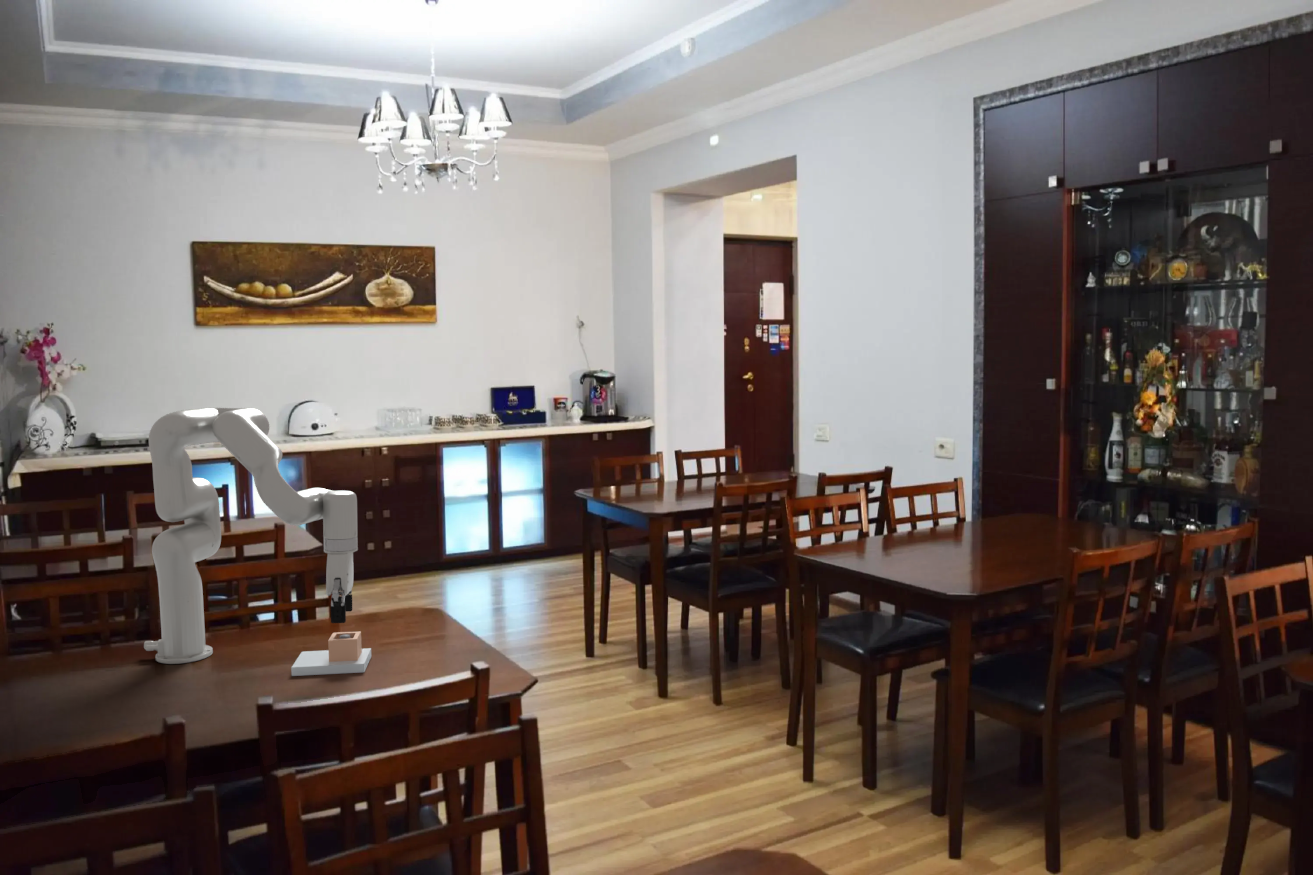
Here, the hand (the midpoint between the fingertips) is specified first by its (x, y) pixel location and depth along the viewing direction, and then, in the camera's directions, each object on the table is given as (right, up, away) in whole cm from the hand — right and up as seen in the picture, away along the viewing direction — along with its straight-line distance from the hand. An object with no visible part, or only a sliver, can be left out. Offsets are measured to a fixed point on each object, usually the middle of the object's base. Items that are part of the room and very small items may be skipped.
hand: (341, 616), depth 241 cm
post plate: (-2, -12, +1) cm, 12 cm away
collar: (+1, -9, +1) cm, 10 cm away
